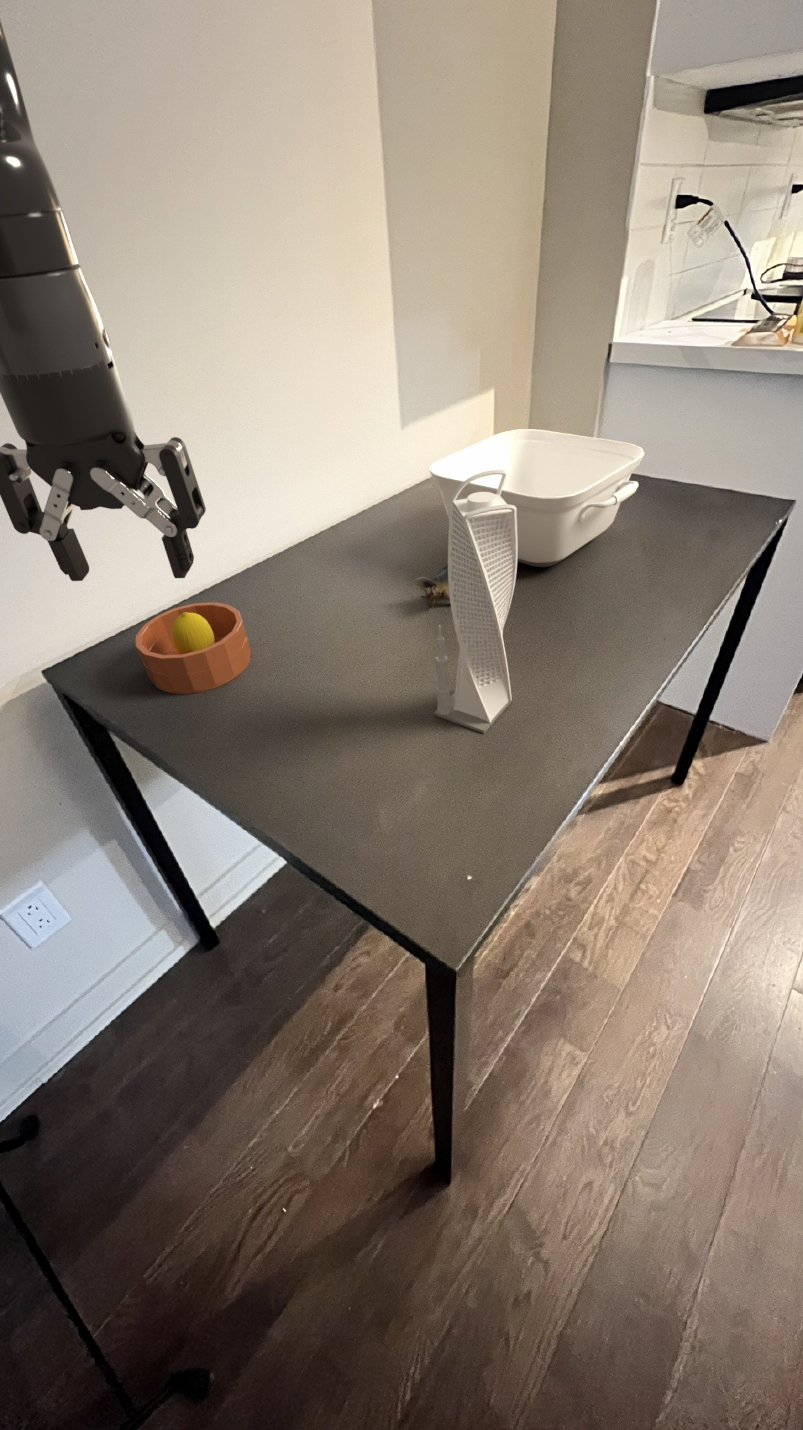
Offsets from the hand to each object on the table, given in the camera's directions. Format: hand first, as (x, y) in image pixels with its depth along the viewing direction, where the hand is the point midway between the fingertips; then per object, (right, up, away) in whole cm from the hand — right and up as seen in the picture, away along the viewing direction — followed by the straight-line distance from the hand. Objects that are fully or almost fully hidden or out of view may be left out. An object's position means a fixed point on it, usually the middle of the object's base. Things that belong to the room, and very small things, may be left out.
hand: (132, 575), depth 52 cm
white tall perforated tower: (+32, -11, +26) cm, 43 cm away
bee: (+30, +6, +48) cm, 56 cm away
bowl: (-7, -4, +39) cm, 40 cm away
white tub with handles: (+46, +20, +61) cm, 79 cm away
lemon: (-7, -4, +39) cm, 40 cm away
